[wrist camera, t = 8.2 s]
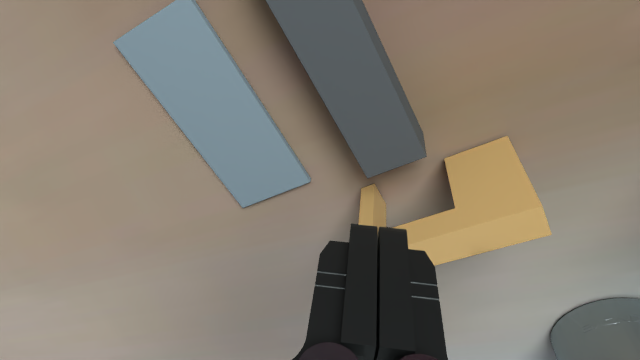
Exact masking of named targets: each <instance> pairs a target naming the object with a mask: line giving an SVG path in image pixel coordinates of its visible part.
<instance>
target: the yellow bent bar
mask: <svg viewBox="0 0 640 360" xmlns="http://www.w3.org/2000/svg"><path fill="white" fill-rule="evenodd" d="M444 160H445V164H446V169H447V173H448V178H449V183H450V187H451V192H452V196H453V201H454V205H455V208H454V209H451V210H448V211H444V212H441V213H438V214H435V215H432V216H428V217H425V218H422V219H419V220H415V221H412V222H409V223H406V224H403V225H399V226H396V227H393V228H398V229H406V230H407V238H408V249H412V250H422V251H425V252H426V254H427V255H428V257H429V258H430V260H431V261H432V263H433V265H434V266H435V265H439V264H443V263H446V262H450V261H454V260H458V259H461V258H465V257H469V256H473V255H477V254H480V253H484V252H488V251H492V250H496V249H499V248H503V247H507V246H511V245H514V244H518V243H522V242H526V241H530V240H533V239H537V238H541V237H545V236H549V235H552V234H551V231H550V228H549V225H548V222H547V219H546V216H545V213H544V210H543V207H542V204H541V202H540V200H539V198H538V196H537V194H536V192H535V190H534V188H533V186H532V184H531V182H530V180H529V178H528V176H527V174H526V172H525V170H524V168H523V166H522V164H521V162H520V160H519V158H518V156H517V154H516V152H515V150H514V148H513V146H512V144H511V142H510V140H509V138H508V136H506V137H503V138H500V139H497V140H495V141H492V142H489V143H486V144H483V145H481V146H478V147H475V148H472V149H470V150H467V151H464V152H461V153H458V154H456V155H453V156H450V157H447V158H444ZM359 225H368V226H377V228H378V230H379V227H386V204H385V202H384V200H383V198H382V196H381V195H380V193H379V191H378V189H377V188H376V186H375V184H372V185H369V186H367V187H364V188H361V200H360V212H359Z"/></svg>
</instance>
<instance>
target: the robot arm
mask: <svg viewBox="0 0 640 360" xmlns="http://www.w3.org/2000/svg"><path fill="white" fill-rule="evenodd" d="M551 344H552V347H553V349H554V352H555V355H556V358H557V360H640V299H634V298H613V299H606V300H600V301H596V302H593V303H589V304H586V305H584V306H581V307H579V308H576V309H574V310H573V311H571V312H569V313H568V314H566V315H565V316H564V317H562V318H561V319H560V320H559V321H558V322H557V323H556V325H555V326H554V327H553V330H552V332H551ZM292 360H448V358H447V353H446V345H445V338H444V331H443V323H442V316H441V309H440V301H439V294H438V287H437V279H436V272H435V266H434V265H433V263H432V261H431V260H430V258H429V257H428V255H427V254H426V252H425V251H422V250H412V249H408V238H407V230H406V229H398V228H388V227H379V230H378V228H377V226H368V225H359V224H351V229H350V239H349V243H347V242H337V241H329V243H328V244H327V245H326V247H325V248H324V249H323V251H322V252H321V253H320V258H319V264H318V270H317V276H316V282H315V288H314V294H313V300H312V306H311V313H310V319H309V325H308V331H307V337H306V341H305V343H304V346H303V348H302V349H301V351H300V352H299V353H298V355H297V356H296V357H295V358H293V359H292Z"/></svg>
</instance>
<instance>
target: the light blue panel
mask: <svg viewBox="0 0 640 360" xmlns="http://www.w3.org/2000/svg"><path fill="white" fill-rule="evenodd" d="M113 43H114V44H115V46H116V47H117V48H118V49H119V51H120V52H121V53H122V55H123V56H124V57H125V58H126V60H127V61H128V62H129V64H130V65H131V66H132V67H133V69H134V70H135V71H136V72H137V74H138V75H139V76H140V78H141V79H142V80H143V81H144V83H145V84H146V85H147V87H148V88H149V89H150V90H151V92H152V93H153V94H154V95H155V97H156V98H157V99H158V101H159V102H160V103H161V104H162V106H163V107H164V108H165V109H166V111H167V112H168V113H169V115H170V116H171V117H172V118H173V120H174V121H175V122H176V124H177V125H178V126H179V127H180V129H181V130H182V131H183V132H184V134H185V135H186V136H187V138H188V139H189V140H190V141H191V143H192V144H193V145H194V147H195V148H196V149H197V150H198V152H199V153H200V154H201V155H202V157H203V158H204V159H205V161H206V162H207V163H208V164H209V166H210V167H211V168H212V169H213V171H214V172H215V173H216V175H217V176H218V177H219V178H220V180H221V181H222V182H223V184H224V185H225V186H226V187H227V189H228V190H229V191H230V192H231V194H232V195H233V196H234V198H235V199H236V200H237V201H238V203H239V204H240V205H241V206H242V208H244V207H246V206H249V205H252V204H254V203H257V202H259V201H262V200H265V199H267V198H270V197H272V196H275V195H278V194H280V193H283V192H285V191H288V190H290V189H293V188H296V187H298V186H301V185H303V184H306V183H309V182H310V181H311V178H310V176H309V175H308V173H307V172H306V170H305V169H304V167H303V166H302V164H301V163H300V161H299V160H298V158H297V156H296V155H295V153H294V152H293V150H292V149H291V147H290V146H289V144H288V143H287V141H286V140H285V138H284V136H283V135H282V133H281V132H280V130H279V129H278V127H277V126H276V124H275V123H274V121H273V120H272V118H271V117H270V115H269V113H268V112H267V110H266V109H265V107H264V106H263V104H262V103H261V101H260V100H259V98H258V97H257V95H256V93H255V92H254V90H253V89H252V87H251V86H250V84H249V83H248V81H247V80H246V78H245V77H244V75H243V74H242V72H241V70H240V69H239V67H238V66H237V64H236V63H235V61H234V60H233V58H232V57H231V55H230V54H229V52H228V50H227V49H226V47H225V46H224V44H223V43H222V41H221V40H220V38H219V37H218V35H217V34H216V32H215V31H214V29H213V27H212V26H211V24H210V23H209V21H208V20H207V18H206V17H205V15H204V14H203V12H202V11H201V9H200V7H199V6H198V4H197V3H196V1H195V0H176V1H174V2H173V3H171V4H170V5H168V6H167V7H165V8H164V9H162V10H161V11H159V12H158V13H156V14H155V15H153V16H152V17H150V18H149V19H147V20H146V21H144V22H143V23H141V24H140V25H138V26H137V27H135V28H134V29H132V30H131V31H129V32H128V33H126V34H125V35H123V36H122V37H120V38H119V39H117V40H116V41H114V42H113Z"/></svg>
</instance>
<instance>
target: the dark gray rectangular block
mask: <svg viewBox="0 0 640 360" xmlns="http://www.w3.org/2000/svg"><path fill="white" fill-rule="evenodd" d="M266 2H267V3H268V5H269V7H270V9H271V10H272V12H273V14H274V16H275V17H276V19H277V21H278V23H279V24H280V26H281V28H282V30H283V31H284V33H285V35H286V37H287V38H288V40H289V42H290V44H291V45H292V47H293V49H294V51H295V52H296V54H297V56H298V58H299V59H300V61H301V63H302V65H303V66H304V68H305V70H306V72H307V73H308V75H309V77H310V79H311V80H312V82H313V84H314V86H315V87H316V89H317V91H318V93H319V94H320V96H321V98H322V100H323V101H324V103H325V105H326V107H327V108H328V110H329V112H330V114H331V115H332V117H333V119H334V121H335V122H336V124H337V126H338V128H339V129H340V131H341V133H342V135H343V136H344V138H345V140H346V142H347V143H348V145H349V147H350V149H351V150H352V152H353V154H354V156H355V157H356V159H357V161H358V163H359V164H360V166H361V168H362V170H363V171H364V173H365V175H366V177H367V178H370V177H372V176H375V175H378V174H381V173H383V172H386V171H389V170H392V169H394V168H397V167H400V166H402V165H405V164H408V163H411V162H413V161H416V160H419V159H422V158H424V157H426V150H425V143H424V136H423V132H422V130H421V128H420V125H419V123H418V121H417V119H416V117H415V115H414V112H413V110H412V108H411V106H410V104H409V102H408V99H407V97H406V95H405V93H404V91H403V88H402V86H401V84H400V82H399V80H398V78H397V75H396V73H395V71H394V69H393V67H392V65H391V62H390V60H389V58H388V56H387V54H386V52H385V49H384V47H383V45H382V43H381V41H380V39H379V36H378V34H377V32H376V30H375V28H374V25H373V23H372V21H371V19H370V17H369V15H368V12H367V10H366V8H365V6H364V4H363V2H362V0H266Z"/></svg>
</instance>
